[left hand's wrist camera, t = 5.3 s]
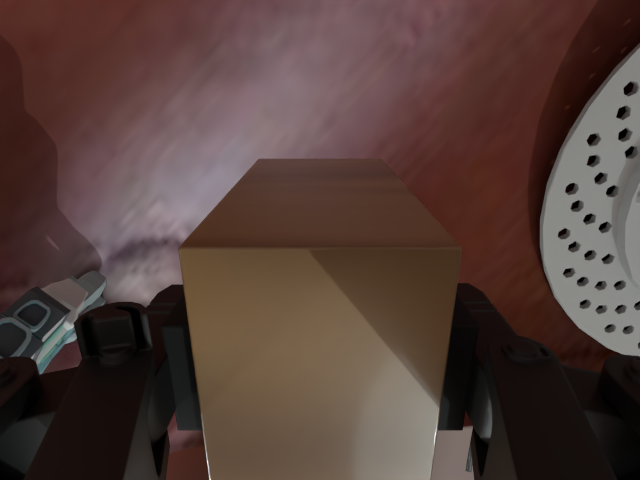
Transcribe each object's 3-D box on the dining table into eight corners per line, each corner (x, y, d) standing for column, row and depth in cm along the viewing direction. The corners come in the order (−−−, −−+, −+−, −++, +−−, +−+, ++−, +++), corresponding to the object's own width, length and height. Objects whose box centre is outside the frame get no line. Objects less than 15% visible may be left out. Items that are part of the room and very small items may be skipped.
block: (258, 158, 16) (176, 247, 7) (382, 158, 16) (463, 247, 7) (266, 304, 18) (213, 513, 9) (373, 304, 18) (426, 514, 9)
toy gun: (161, 240, 23) (8, 398, 17) (99, 316, 37) (1, 419, 30) (108, 197, 22) (-77, 347, 16) (64, 292, 36) (-44, 392, 29)
